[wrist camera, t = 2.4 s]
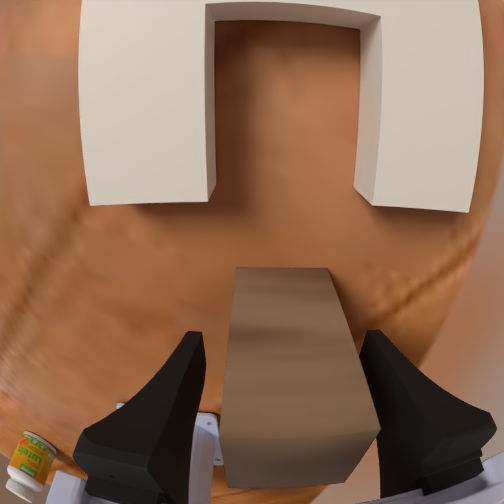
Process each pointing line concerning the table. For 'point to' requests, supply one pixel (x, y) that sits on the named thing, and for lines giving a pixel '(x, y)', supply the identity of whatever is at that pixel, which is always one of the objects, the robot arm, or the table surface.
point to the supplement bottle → (30, 466)
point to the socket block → (203, 96)
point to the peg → (292, 384)
